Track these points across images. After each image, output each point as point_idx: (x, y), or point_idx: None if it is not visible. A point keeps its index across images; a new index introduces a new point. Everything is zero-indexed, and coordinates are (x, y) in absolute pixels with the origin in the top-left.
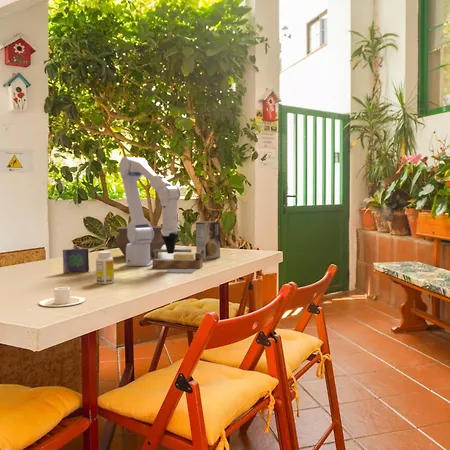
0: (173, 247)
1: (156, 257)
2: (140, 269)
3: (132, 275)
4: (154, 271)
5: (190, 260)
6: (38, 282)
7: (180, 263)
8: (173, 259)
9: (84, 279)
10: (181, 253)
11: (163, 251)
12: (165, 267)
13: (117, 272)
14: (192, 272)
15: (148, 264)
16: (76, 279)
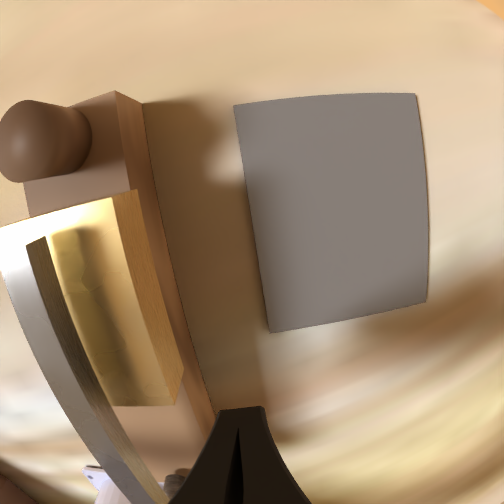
0: (278, 456)
1: None
2: (288, 469)
3: (465, 409)
4: (356, 389)
5: (138, 198)
6: (493, 495)
7: (165, 297)
8: None
9: (492, 465)
10: None
11: (160, 493)
12: (203, 387)
13: (380, 488)
14: (395, 93)
15: None
16: (485, 477)
